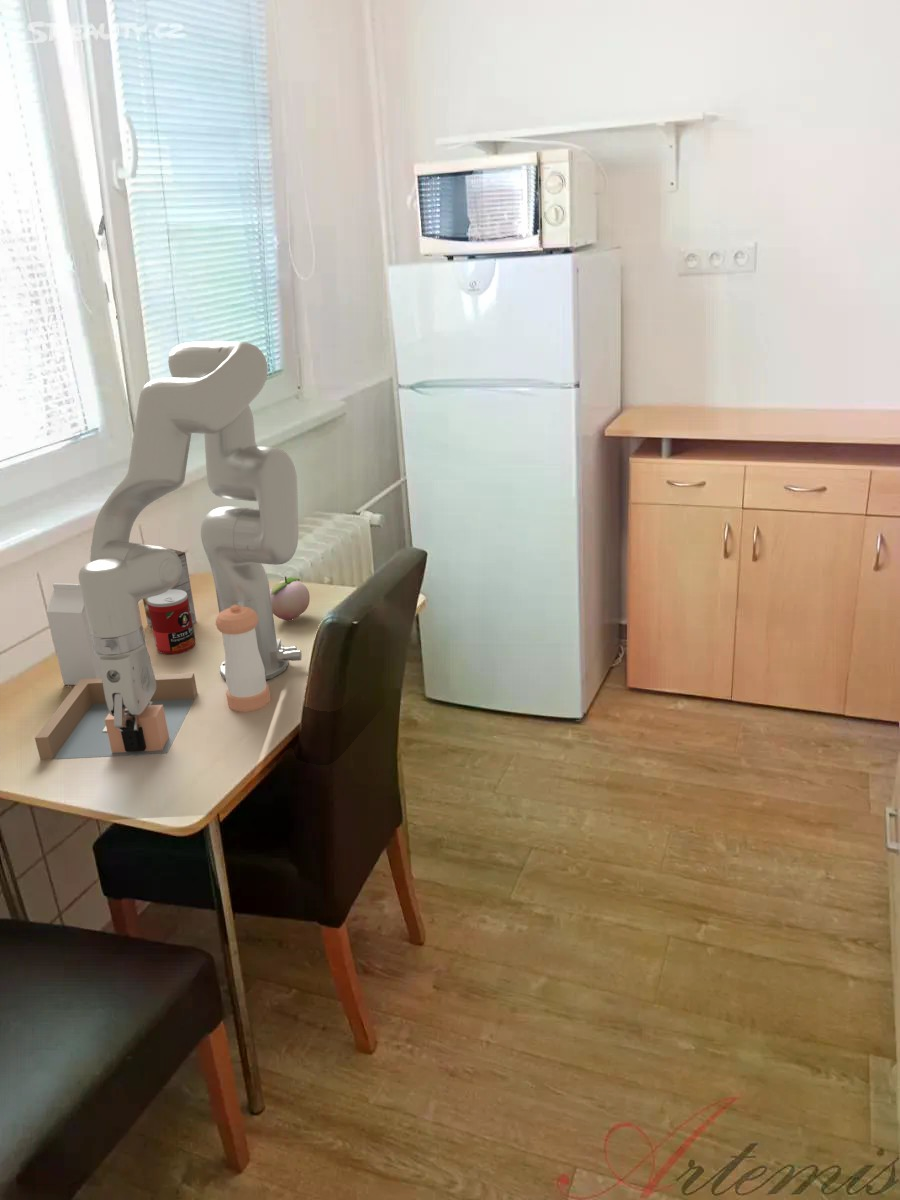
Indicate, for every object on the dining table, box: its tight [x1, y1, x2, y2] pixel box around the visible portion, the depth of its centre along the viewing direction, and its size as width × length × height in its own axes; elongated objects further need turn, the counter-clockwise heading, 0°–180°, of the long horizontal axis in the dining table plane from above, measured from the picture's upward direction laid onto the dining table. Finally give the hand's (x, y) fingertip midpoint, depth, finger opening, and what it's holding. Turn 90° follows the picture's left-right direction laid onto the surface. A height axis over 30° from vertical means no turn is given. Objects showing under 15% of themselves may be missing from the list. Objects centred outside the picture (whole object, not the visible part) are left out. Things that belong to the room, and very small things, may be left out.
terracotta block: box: [105, 705, 169, 753], centre depth 146 cm, size 8×4×6 cm, turn 91°
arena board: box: [34, 672, 198, 761], centre depth 153 cm, size 20×20×5 cm
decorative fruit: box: [270, 576, 311, 622], centre depth 192 cm, size 9×8×10 cm
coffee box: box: [142, 547, 197, 627], centre depth 193 cm, size 9×6×16 cm
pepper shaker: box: [215, 605, 271, 712], centre depth 156 cm, size 7×7×19 cm
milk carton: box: [45, 583, 102, 686], centre depth 170 cm, size 7×7×19 cm
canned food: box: [147, 589, 196, 655], centre depth 183 cm, size 8×8×11 cm
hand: (140, 741), depth 147 cm, fingers closed on terracotta block, 4 cm apart
